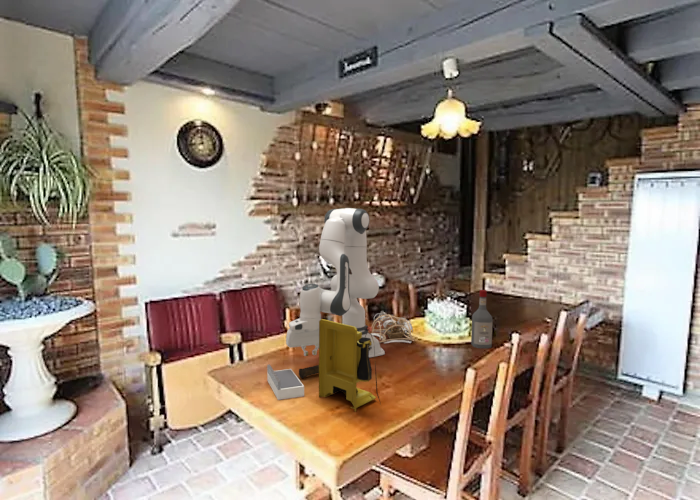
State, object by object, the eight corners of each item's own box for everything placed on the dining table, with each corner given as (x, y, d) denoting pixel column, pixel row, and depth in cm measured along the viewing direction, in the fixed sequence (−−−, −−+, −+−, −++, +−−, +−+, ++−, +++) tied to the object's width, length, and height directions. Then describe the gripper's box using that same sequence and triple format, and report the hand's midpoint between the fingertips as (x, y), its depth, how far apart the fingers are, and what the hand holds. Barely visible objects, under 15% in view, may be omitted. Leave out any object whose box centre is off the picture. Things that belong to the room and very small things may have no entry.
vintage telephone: (396, 406, 159) (398, 324, 156) (372, 419, 148) (373, 332, 146) (334, 383, 180) (334, 310, 177) (309, 393, 169) (309, 316, 167)
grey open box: (291, 377, 185) (291, 361, 184) (304, 396, 166) (304, 378, 166) (267, 380, 181) (267, 364, 181) (278, 400, 163) (277, 382, 162)
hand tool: (302, 380, 182) (303, 369, 181) (297, 376, 185) (298, 365, 184) (340, 371, 193) (341, 361, 192) (335, 367, 196) (336, 358, 195)
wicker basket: (359, 346, 236) (359, 318, 233) (383, 325, 267) (384, 299, 264) (408, 356, 224) (409, 326, 221) (428, 332, 255) (429, 306, 252)
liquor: (492, 350, 225) (494, 292, 222) (474, 350, 225) (476, 292, 223) (487, 345, 234) (489, 289, 231) (470, 344, 234) (472, 288, 232)
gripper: (331, 319, 192) (331, 350, 193) (285, 323, 184) (285, 355, 185) (336, 322, 186) (335, 354, 187) (288, 326, 178) (288, 360, 180)
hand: (310, 355), depth 186 cm, fingers closed
